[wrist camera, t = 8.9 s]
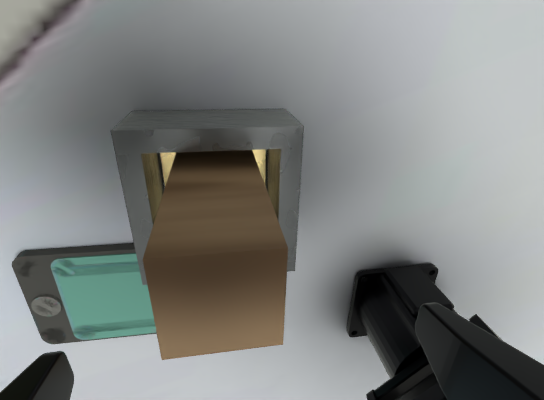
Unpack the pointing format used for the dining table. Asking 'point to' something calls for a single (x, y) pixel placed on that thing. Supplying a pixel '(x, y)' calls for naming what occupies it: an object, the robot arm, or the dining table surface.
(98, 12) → the dining table surface
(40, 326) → the smartphone
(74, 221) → the dining table surface
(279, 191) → the gray open box
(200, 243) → the rail post
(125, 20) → the dining table surface
